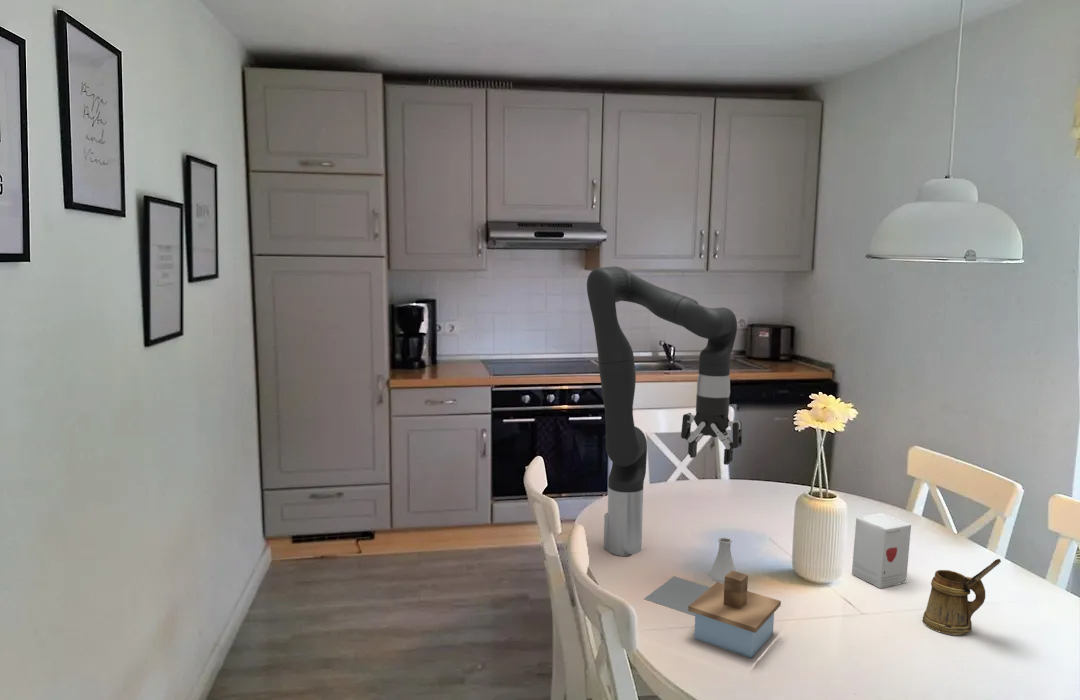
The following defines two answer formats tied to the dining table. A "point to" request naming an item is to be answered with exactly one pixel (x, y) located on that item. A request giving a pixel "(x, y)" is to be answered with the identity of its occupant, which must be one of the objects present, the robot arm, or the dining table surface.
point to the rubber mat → (677, 594)
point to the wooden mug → (954, 600)
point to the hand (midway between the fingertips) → (709, 460)
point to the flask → (722, 561)
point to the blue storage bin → (732, 635)
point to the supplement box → (881, 549)
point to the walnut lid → (735, 603)
